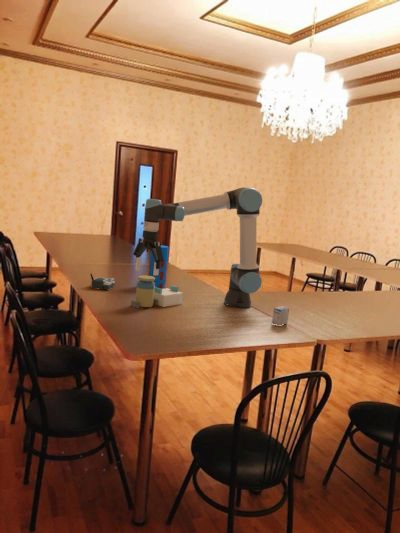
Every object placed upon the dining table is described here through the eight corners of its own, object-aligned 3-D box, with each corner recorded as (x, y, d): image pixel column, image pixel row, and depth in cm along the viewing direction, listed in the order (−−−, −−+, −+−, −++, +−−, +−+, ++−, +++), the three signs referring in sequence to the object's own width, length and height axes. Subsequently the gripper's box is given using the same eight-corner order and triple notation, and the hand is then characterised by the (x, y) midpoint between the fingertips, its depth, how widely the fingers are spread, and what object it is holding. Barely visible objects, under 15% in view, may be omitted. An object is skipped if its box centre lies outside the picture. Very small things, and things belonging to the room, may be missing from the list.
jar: (136, 308, 228) (138, 278, 225) (134, 303, 236) (136, 274, 234) (154, 308, 230) (157, 279, 228) (151, 303, 239) (154, 275, 236)
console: (182, 303, 245) (183, 288, 244) (142, 310, 224) (143, 293, 223) (166, 298, 253) (168, 283, 252) (126, 304, 232) (127, 288, 231)
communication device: (120, 284, 281) (121, 269, 280) (109, 291, 257) (110, 276, 256) (101, 281, 282) (102, 267, 280) (88, 288, 258) (89, 273, 257)
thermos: (145, 284, 285) (148, 244, 281) (161, 284, 289) (165, 245, 285) (151, 288, 275) (154, 247, 271) (167, 288, 279) (171, 247, 275)
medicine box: (279, 322, 228) (281, 305, 227) (287, 324, 226) (289, 307, 224) (271, 325, 222) (273, 307, 221) (279, 327, 220) (281, 310, 218)
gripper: (128, 226, 233) (125, 268, 236) (162, 234, 216) (157, 278, 220) (140, 227, 238) (136, 267, 241) (173, 234, 222) (169, 277, 225)
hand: (146, 272), depth 231 cm, fingers open, 13 cm apart
